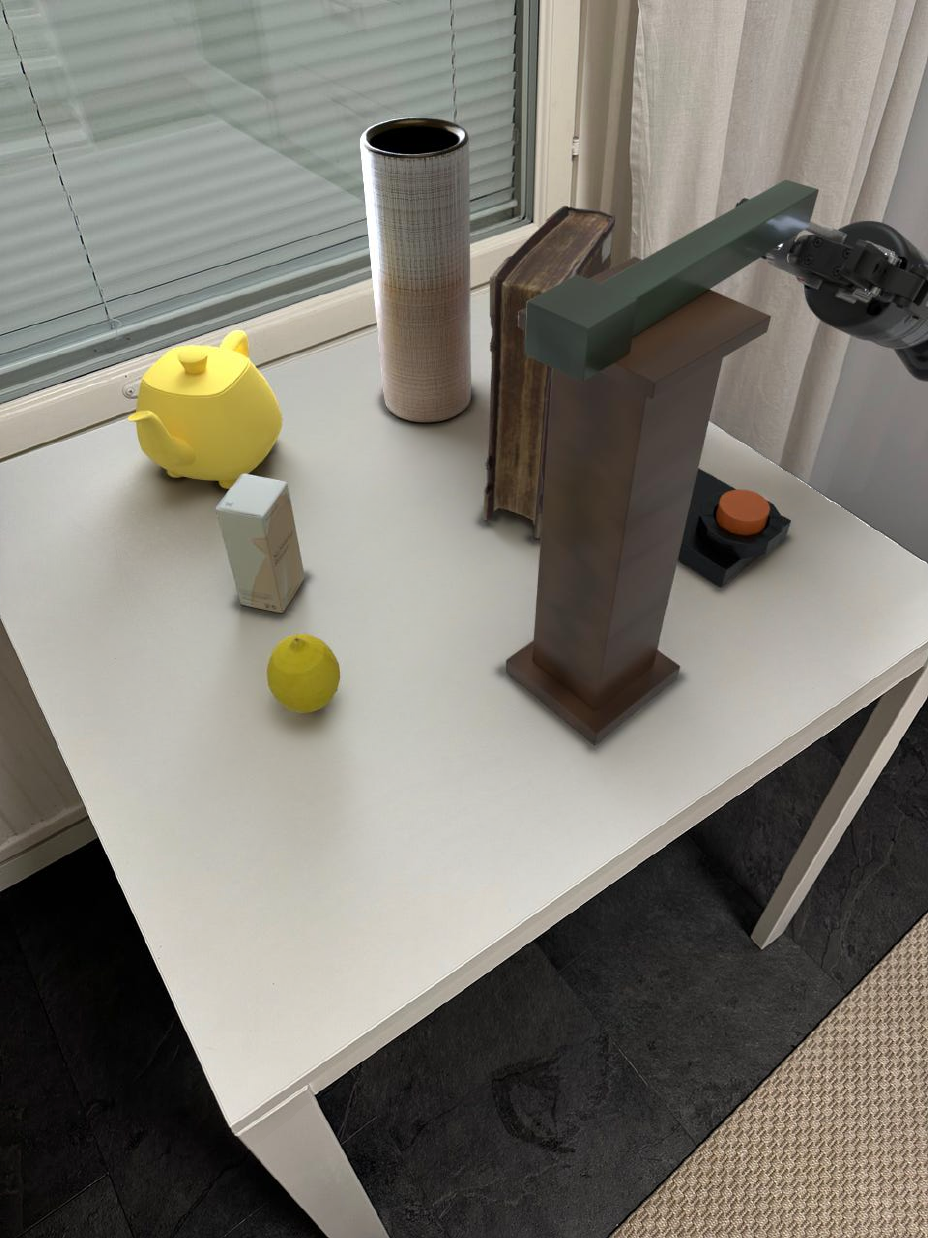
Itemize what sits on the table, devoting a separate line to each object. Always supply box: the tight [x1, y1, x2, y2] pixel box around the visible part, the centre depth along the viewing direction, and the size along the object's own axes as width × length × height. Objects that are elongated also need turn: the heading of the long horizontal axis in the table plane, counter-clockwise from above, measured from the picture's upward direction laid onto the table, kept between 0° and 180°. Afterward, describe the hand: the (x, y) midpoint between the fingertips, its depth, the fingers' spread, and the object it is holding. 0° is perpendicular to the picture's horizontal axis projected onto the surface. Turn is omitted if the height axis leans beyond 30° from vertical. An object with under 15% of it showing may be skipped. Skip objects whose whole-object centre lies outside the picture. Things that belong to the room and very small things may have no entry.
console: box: [677, 467, 792, 588], centre depth 84 cm, size 13×10×4 cm
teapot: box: [126, 329, 284, 490], centre depth 89 cm, size 13×20×12 cm
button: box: [716, 489, 770, 535], centre depth 80 cm, size 4×4×2 cm
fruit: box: [266, 633, 341, 714], centre depth 69 cm, size 6×6×8 cm
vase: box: [360, 116, 472, 424], centre depth 91 cm, size 10×10×28 cm
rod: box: [525, 179, 820, 382], centre depth 51 cm, size 4×24×3 cm, turn 136°
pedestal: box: [505, 256, 772, 746], centre depth 62 cm, size 10×10×32 cm
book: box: [482, 205, 616, 539], centre depth 81 cm, size 17×7×25 cm, turn 150°
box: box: [215, 473, 306, 614], centre depth 77 cm, size 5×4×11 cm
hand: (794, 235), depth 56 cm, fingers open, 8 cm apart
